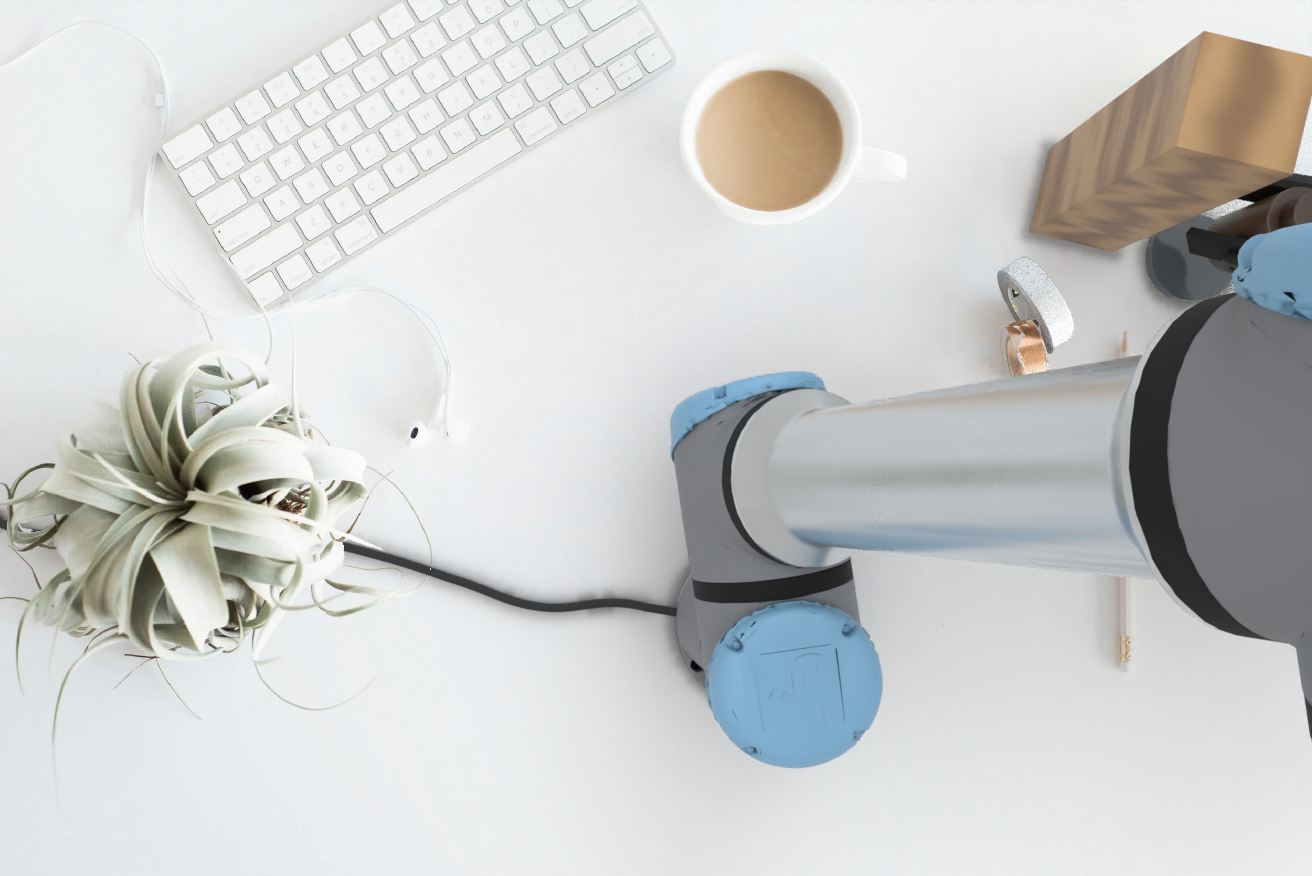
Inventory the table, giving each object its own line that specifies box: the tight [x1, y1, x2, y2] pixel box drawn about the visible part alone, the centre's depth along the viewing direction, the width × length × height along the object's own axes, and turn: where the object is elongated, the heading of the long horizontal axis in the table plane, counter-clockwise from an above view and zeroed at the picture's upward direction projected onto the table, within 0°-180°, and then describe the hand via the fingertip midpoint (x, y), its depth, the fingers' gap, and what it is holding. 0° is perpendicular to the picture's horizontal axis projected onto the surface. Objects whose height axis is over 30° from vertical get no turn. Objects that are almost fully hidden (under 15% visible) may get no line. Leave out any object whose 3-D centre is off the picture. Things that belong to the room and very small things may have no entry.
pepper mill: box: [1208, 187, 1312, 274], centre depth 67 cm, size 5×5×9 cm
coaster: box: [1145, 214, 1233, 303], centre depth 77 cm, size 8×8×1 cm
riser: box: [1029, 30, 1312, 253], centre depth 66 cm, size 8×8×22 cm
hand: (1212, 212), depth 70 cm, fingers closed on pepper mill, 5 cm apart
